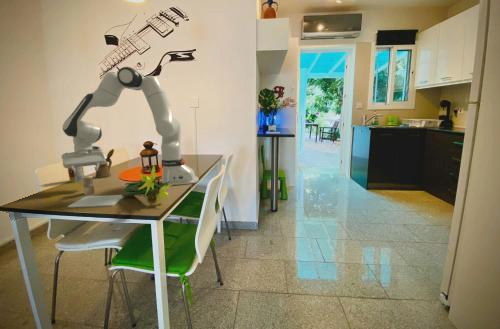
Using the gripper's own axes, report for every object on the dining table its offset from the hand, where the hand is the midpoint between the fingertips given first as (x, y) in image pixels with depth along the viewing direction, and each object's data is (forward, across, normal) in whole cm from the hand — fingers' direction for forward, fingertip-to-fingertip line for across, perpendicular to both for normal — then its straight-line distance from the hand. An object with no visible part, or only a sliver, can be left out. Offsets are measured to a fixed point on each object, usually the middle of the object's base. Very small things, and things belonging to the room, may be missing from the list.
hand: (86, 171), depth 135 cm
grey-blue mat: (+25, +4, -10) cm, 27 cm away
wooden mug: (-15, +11, +31) cm, 36 cm away
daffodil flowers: (+34, +21, -19) cm, 45 cm away
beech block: (+12, 0, +3) cm, 13 cm away
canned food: (-13, -6, +28) cm, 32 cm away
